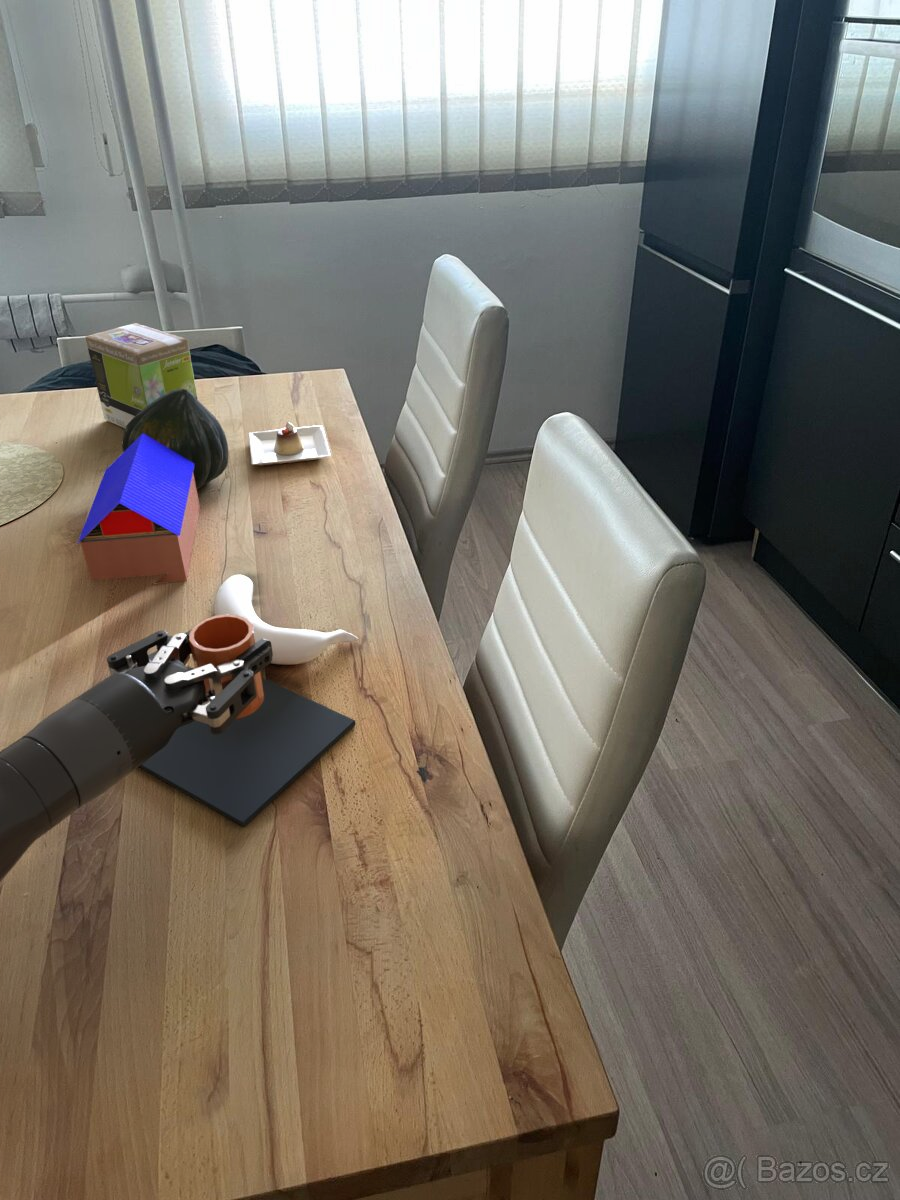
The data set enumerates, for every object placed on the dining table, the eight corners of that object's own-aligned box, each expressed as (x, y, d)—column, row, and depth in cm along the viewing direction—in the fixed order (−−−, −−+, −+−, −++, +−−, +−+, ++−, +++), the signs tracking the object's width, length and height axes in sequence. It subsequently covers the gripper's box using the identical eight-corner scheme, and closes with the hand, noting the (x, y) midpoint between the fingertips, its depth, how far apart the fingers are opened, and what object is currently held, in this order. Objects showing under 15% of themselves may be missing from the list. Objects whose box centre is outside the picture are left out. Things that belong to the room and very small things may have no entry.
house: (90, 590, 113) (66, 507, 107) (116, 512, 130) (97, 436, 123) (189, 582, 114) (171, 499, 108) (202, 506, 131) (188, 429, 124)
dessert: (252, 470, 140) (248, 441, 137) (249, 438, 149) (245, 411, 147) (331, 462, 142) (328, 433, 139) (322, 431, 152) (320, 403, 149)
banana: (205, 594, 112) (321, 570, 116) (235, 693, 98) (366, 661, 102) (199, 561, 109) (318, 537, 113) (229, 658, 95) (364, 627, 99)
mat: (123, 758, 89) (121, 753, 88) (240, 670, 100) (239, 666, 99) (243, 827, 81) (242, 822, 81) (355, 724, 92) (355, 720, 92)
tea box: (204, 424, 154) (189, 337, 146) (153, 444, 148) (135, 354, 140) (152, 402, 163) (135, 319, 154) (102, 420, 156) (81, 334, 148)
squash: (87, 465, 130) (136, 394, 122) (140, 427, 142) (188, 359, 134) (166, 532, 133) (220, 466, 125) (212, 488, 145) (263, 426, 137)
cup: (190, 706, 87) (175, 638, 82) (233, 674, 91) (221, 607, 86) (234, 728, 84) (221, 659, 80) (276, 694, 88) (266, 626, 83)
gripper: (148, 738, 69) (298, 627, 80) (29, 673, 75) (183, 580, 87) (166, 808, 73) (306, 693, 85) (52, 741, 80) (196, 643, 91)
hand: (243, 636), depth 86 cm, fingers closed on cup, 5 cm apart
